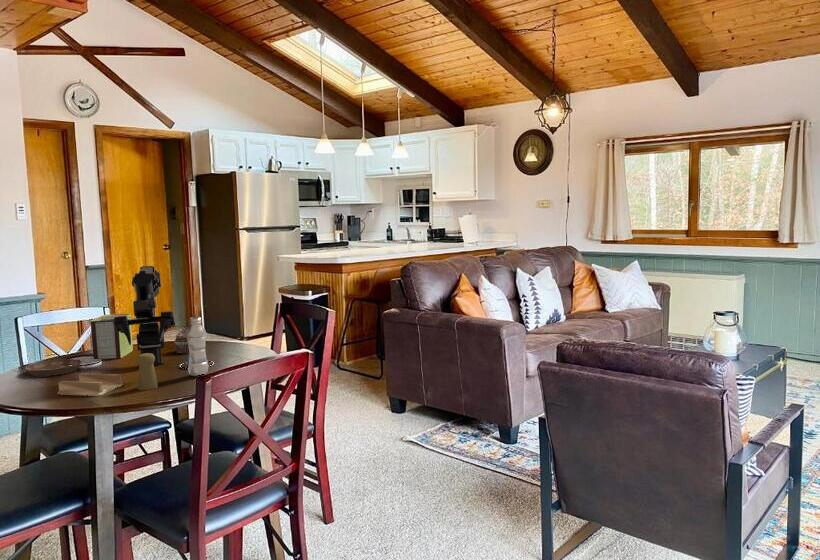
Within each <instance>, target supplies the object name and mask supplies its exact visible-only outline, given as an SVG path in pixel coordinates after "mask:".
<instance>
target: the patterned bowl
mask: <svg viewBox="0 0 820 560" xmlns="http://www.w3.org/2000/svg"><path fill="white" fill-rule="evenodd" d="M206 359H207V363H208V361H209V360H208V357H207V356H206ZM210 361H211V360H210ZM211 362H213V364H212V365H210V366H213V365H214V364H215V362H214V361H211ZM185 363H186V366H187V367H188V365H189V353H188V354H187V357H186V362H185ZM182 364H183V363H181V364H179V368H182V367H181V365H182ZM210 366H209V367H210ZM187 367H186V368H187ZM182 369H183V368H182ZM187 370H188V368H187Z"/></svg>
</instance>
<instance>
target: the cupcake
mask: <svg viewBox="0 0 820 560" xmlns="http://www.w3.org/2000/svg"><path fill="white" fill-rule="evenodd" d="M189 327H190V326H185V328H184V327H181V329H180V330H179V331H178V334H176V335H175V339H174V341H173V342H174V346H175V350H176V353H177V352H178V353H189V347H188V341H187V337H186V333H187V330H188V328H189ZM178 353H177V354H178Z"/></svg>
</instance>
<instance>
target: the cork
mask: <svg viewBox="0 0 820 560" xmlns="http://www.w3.org/2000/svg"><path fill="white" fill-rule="evenodd" d="M154 361H155V356H154V355H153V354H151V353H144V354H141V353H139V354H138V356H137V357H136V362H137V363H138V366H139V367H138V378H137V390H138V389H139V391H149V390H150V389H151V390H155V389H157V388H158V387H159V384H158V379H157V374H156V369H155V366H154V364H153V363H154ZM154 388H155V389H154Z"/></svg>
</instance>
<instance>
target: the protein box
mask: <svg viewBox="0 0 820 560" xmlns="http://www.w3.org/2000/svg"><path fill="white" fill-rule="evenodd" d="M125 315H126V316H127V319H132V314H131V313H120V314H117V313H116V314H114V313H113V314H103V315H100V316H98V317H96V318H94V319H90V333H91V335H90V336H91V346H92V357H93V358H94V359H103V360H115V359H116V360H117V359H122V358H124V357H125V356H127V355H129V354H130V353H132V352H133V350H134V349H133V348H134V347H133V331H132V325H129V329H130V335H131V345H129V342H128V340H127V337H126V335H125V334H124V333H121V332H118V331H116V329H115V326H114V324H113V319H114V318H115V316H125Z"/></svg>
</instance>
